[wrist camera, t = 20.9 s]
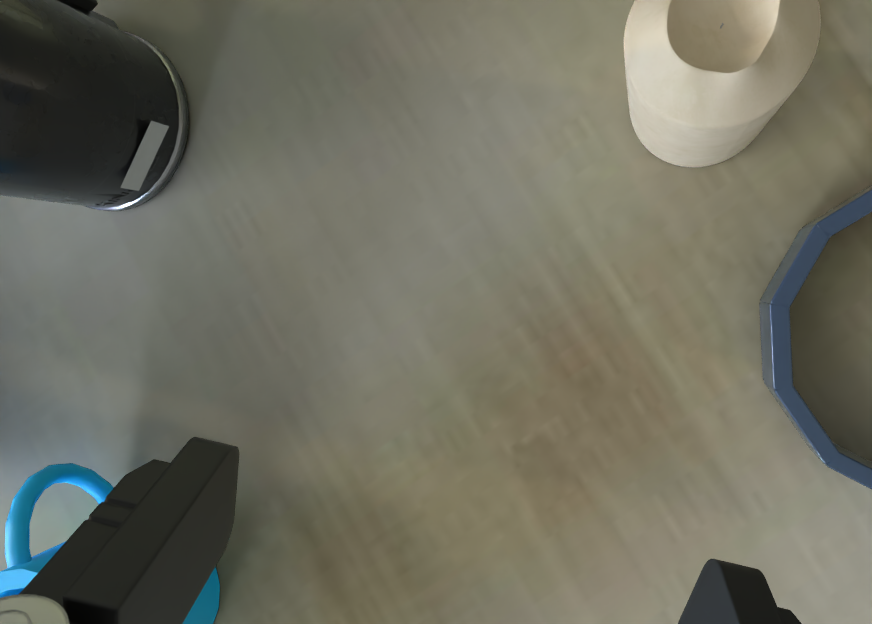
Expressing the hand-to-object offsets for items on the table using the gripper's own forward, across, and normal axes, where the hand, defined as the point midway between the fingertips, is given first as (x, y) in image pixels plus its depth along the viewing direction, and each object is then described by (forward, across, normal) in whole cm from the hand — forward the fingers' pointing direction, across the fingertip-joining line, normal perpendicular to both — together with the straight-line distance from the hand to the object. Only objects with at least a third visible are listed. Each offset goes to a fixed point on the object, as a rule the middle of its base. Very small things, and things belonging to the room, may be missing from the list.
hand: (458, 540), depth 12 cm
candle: (+22, -7, -6) cm, 24 cm away
